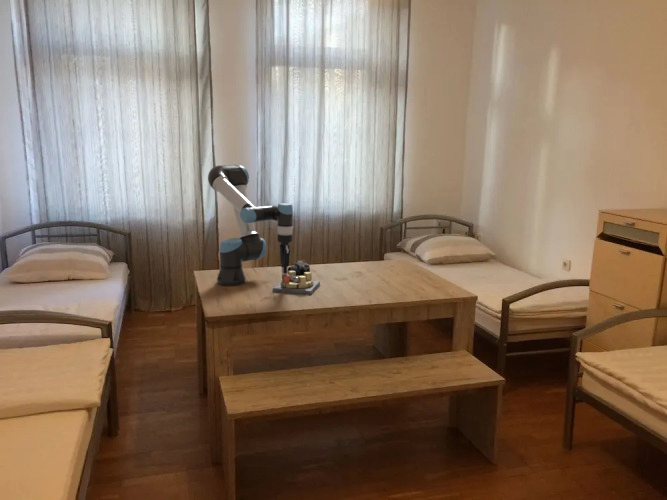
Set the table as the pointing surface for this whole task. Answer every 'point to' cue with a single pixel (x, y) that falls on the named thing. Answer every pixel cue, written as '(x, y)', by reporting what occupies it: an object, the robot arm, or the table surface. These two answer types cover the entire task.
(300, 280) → the octagonal wooden frame
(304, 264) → the camera
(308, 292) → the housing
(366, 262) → the table surface
